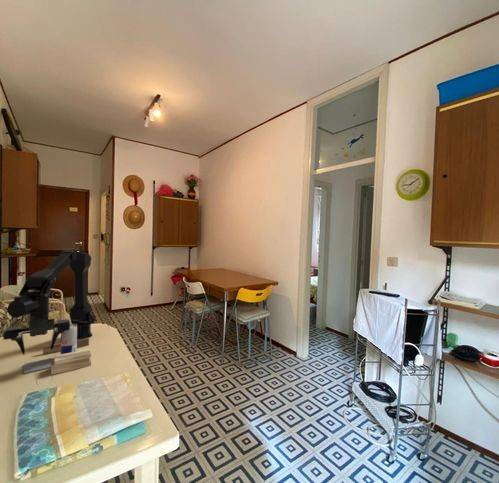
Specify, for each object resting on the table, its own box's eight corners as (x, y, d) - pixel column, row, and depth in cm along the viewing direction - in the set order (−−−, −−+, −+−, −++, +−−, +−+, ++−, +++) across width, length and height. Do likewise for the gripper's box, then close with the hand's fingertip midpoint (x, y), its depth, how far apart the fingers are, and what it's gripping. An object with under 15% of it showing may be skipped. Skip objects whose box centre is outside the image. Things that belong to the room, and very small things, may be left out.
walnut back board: (42, 353, 108) (42, 346, 108) (88, 344, 118) (88, 337, 118) (42, 354, 108) (43, 347, 107) (88, 345, 118) (88, 338, 117)
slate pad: (24, 364, 99) (24, 363, 99) (51, 359, 104) (51, 358, 104) (23, 374, 93) (23, 372, 93) (52, 367, 98) (52, 366, 98)
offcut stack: (50, 368, 97) (50, 356, 97) (88, 360, 105) (89, 348, 105) (51, 374, 93) (51, 362, 93) (90, 365, 101) (91, 353, 101)
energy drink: (57, 357, 106) (58, 327, 105) (71, 352, 110) (72, 323, 110) (65, 361, 103) (65, 330, 103) (79, 355, 108) (80, 326, 108)
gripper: (2, 319, 86) (1, 367, 86) (71, 311, 97) (70, 353, 98) (5, 311, 94) (4, 355, 95) (68, 304, 106) (67, 343, 106)
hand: (37, 351), depth 98 cm, fingers open, 8 cm apart
